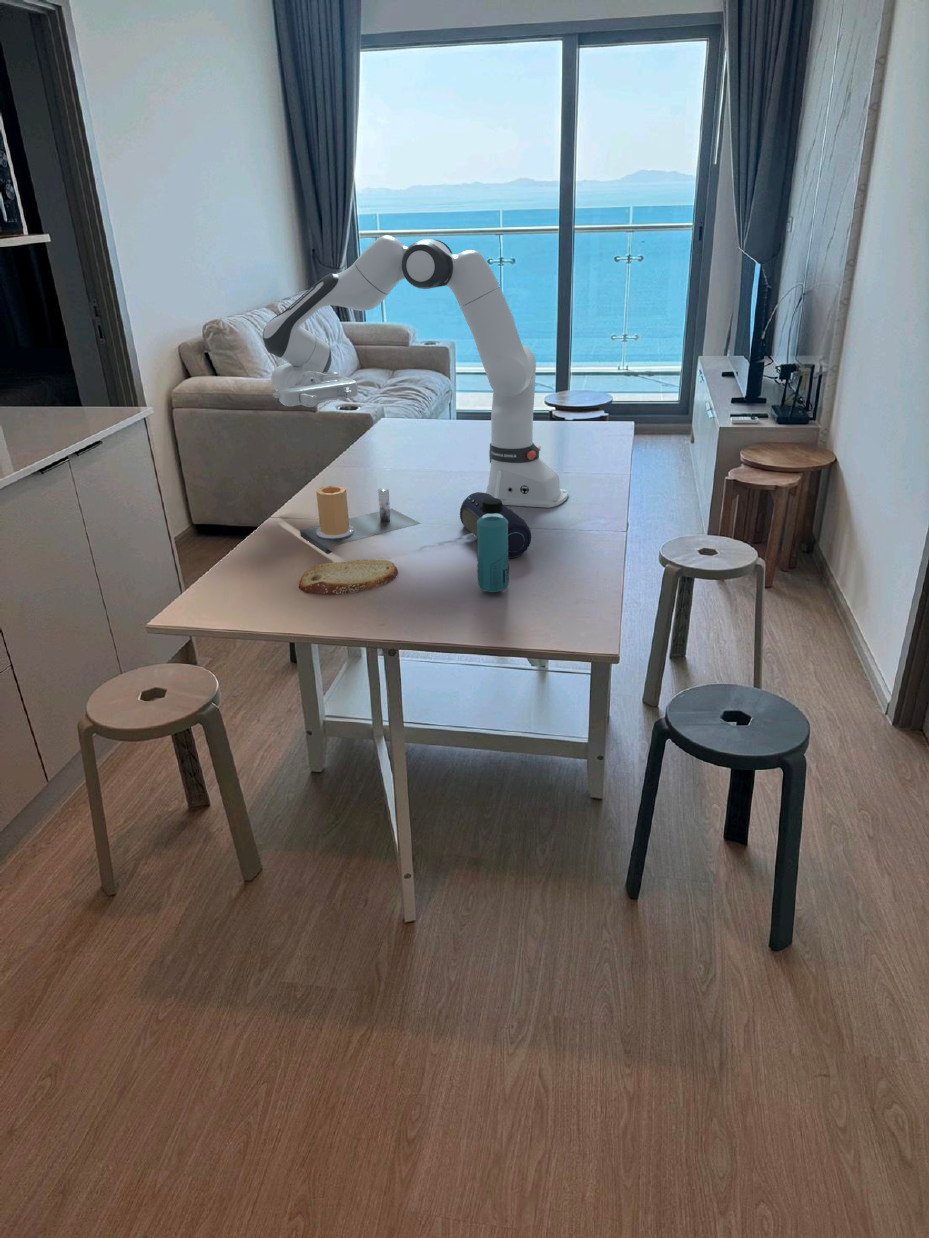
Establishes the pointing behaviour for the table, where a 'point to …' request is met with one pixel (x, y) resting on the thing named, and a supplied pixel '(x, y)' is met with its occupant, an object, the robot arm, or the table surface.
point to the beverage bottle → (492, 547)
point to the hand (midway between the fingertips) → (332, 397)
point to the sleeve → (333, 510)
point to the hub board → (362, 525)
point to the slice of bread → (347, 576)
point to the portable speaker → (516, 525)
